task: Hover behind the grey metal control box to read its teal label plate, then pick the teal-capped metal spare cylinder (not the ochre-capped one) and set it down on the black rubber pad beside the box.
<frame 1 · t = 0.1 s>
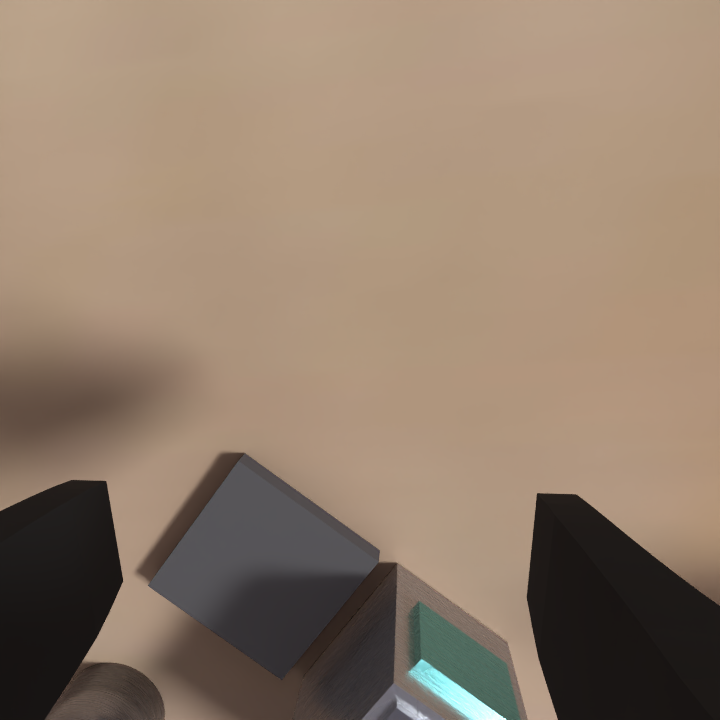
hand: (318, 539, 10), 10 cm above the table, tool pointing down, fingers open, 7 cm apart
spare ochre: (115, 707, 23), on the table
pad: (266, 562, 21), on the table
control box: (403, 660, 21), on the table
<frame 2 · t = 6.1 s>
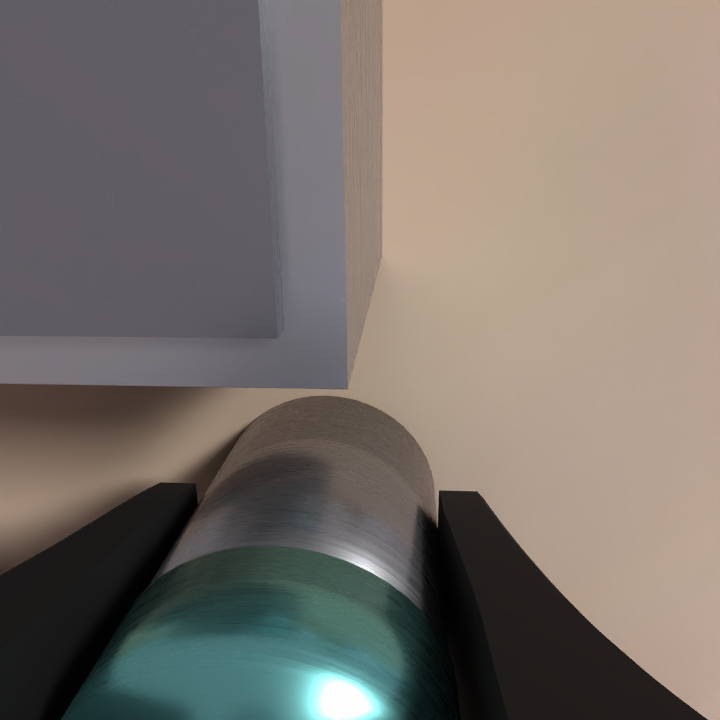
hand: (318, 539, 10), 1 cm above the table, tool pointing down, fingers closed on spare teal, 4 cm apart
control box: (215, 56, 9), on the table
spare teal: (328, 493, 11), on the table, touching gripper
when the fingers open (4 cm above the table, at t = 9.1 s): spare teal stays where it is, resting on pad.
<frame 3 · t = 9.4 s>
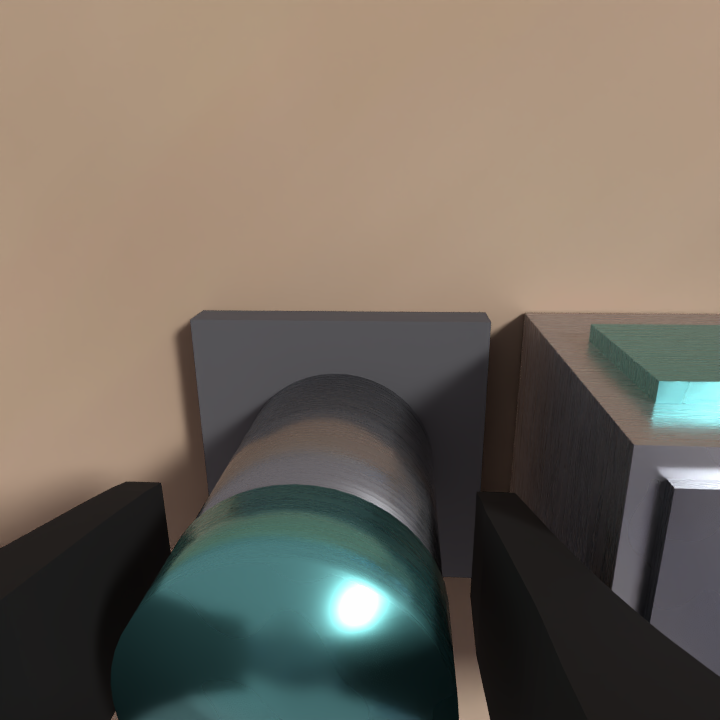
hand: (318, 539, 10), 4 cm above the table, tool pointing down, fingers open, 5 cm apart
pad: (344, 439, 13), on the table
control box: (629, 446, 13), on the table
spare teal: (338, 460, 12), point 1 cm above the table, touching pad
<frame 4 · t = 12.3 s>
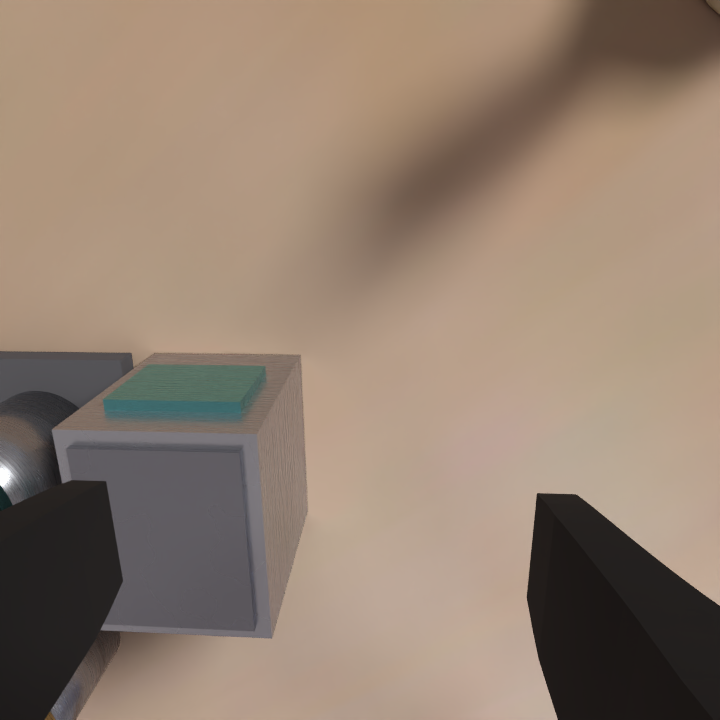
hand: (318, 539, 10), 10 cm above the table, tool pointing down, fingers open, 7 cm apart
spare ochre: (72, 629, 24), on the table
pad: (61, 431, 21), on the table
control box: (233, 435, 20), on the table
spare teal: (46, 445, 20), point 1 cm above the table, touching pad
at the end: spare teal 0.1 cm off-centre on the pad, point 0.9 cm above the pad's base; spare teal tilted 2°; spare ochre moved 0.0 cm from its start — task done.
